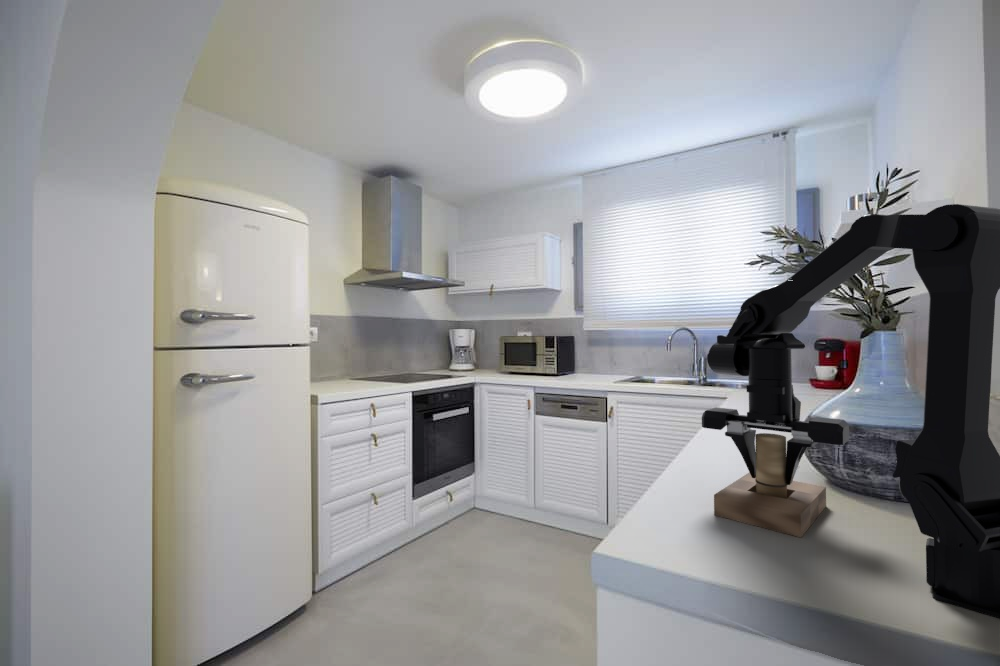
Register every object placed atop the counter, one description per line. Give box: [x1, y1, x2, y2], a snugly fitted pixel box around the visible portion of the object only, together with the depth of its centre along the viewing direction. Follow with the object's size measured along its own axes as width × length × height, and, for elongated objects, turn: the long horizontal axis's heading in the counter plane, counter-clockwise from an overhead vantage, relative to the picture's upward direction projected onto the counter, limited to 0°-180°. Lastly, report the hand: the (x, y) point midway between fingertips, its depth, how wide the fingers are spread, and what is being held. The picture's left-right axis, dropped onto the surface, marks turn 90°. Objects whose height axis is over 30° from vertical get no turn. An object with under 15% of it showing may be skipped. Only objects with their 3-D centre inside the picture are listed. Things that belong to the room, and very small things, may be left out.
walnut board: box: [713, 472, 827, 538], centre depth 69 cm, size 11×16×3 cm
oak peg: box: [755, 432, 787, 499], centre depth 69 cm, size 4×4×10 cm
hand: (771, 480), depth 69 cm, fingers open, 4 cm apart
